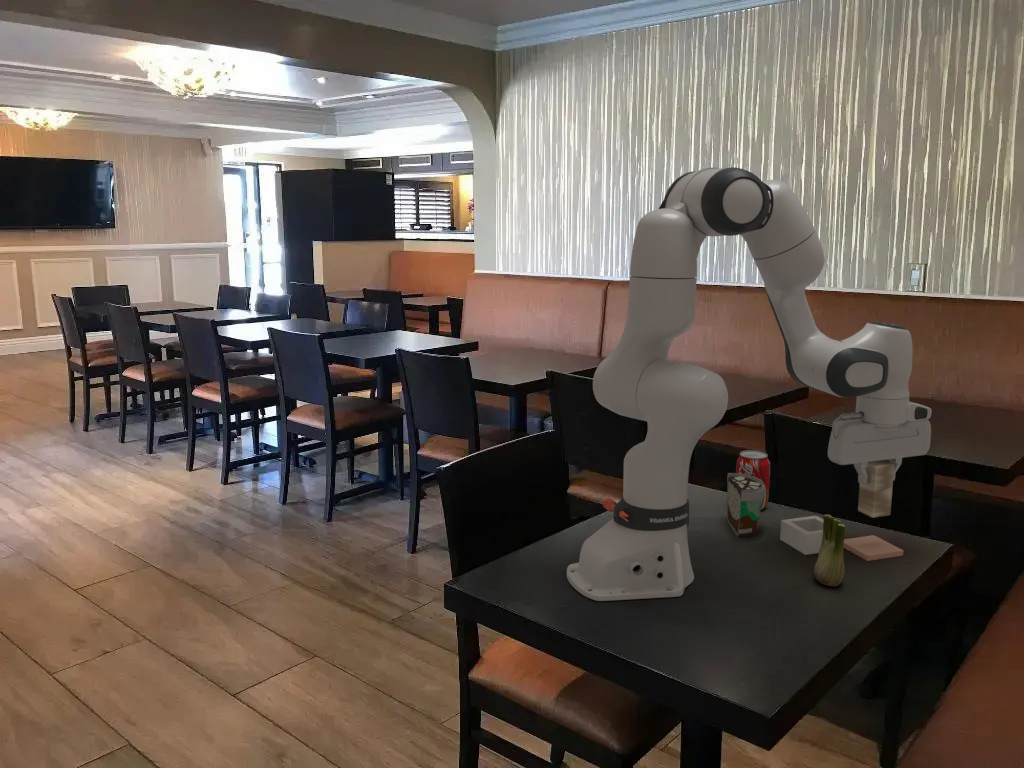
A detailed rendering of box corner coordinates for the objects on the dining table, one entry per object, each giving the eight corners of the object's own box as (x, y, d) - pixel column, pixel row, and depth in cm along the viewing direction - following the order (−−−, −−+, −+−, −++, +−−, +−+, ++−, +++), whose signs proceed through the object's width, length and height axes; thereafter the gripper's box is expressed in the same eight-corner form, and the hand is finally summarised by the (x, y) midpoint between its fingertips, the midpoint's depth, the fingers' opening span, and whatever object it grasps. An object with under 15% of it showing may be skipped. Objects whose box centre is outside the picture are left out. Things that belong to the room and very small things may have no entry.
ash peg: (872, 517, 158) (876, 466, 156) (857, 510, 162) (861, 459, 160) (890, 515, 159) (894, 463, 157) (875, 507, 163) (879, 457, 161)
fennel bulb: (844, 591, 145) (849, 524, 142) (813, 588, 146) (818, 522, 144) (842, 577, 150) (846, 513, 148) (812, 574, 152) (816, 510, 149)
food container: (771, 539, 167) (774, 491, 165) (740, 539, 168) (742, 491, 166) (754, 517, 180) (756, 471, 178) (725, 517, 180) (727, 472, 178)
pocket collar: (805, 554, 160) (806, 534, 159) (780, 539, 167) (781, 520, 167) (841, 549, 162) (842, 529, 161) (814, 534, 170) (816, 515, 169)
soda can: (771, 512, 182) (774, 458, 180) (738, 512, 182) (741, 458, 180) (763, 501, 189) (765, 449, 187) (731, 501, 189) (733, 449, 187)
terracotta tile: (867, 561, 157) (867, 555, 157) (838, 545, 164) (839, 540, 164) (903, 555, 159) (903, 550, 159) (873, 539, 167) (873, 535, 167)
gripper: (845, 418, 150) (840, 493, 153) (939, 408, 156) (933, 480, 159) (822, 410, 156) (818, 482, 159) (914, 401, 162) (908, 471, 165)
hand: (876, 481), depth 159 cm, fingers closed on ash peg, 4 cm apart
